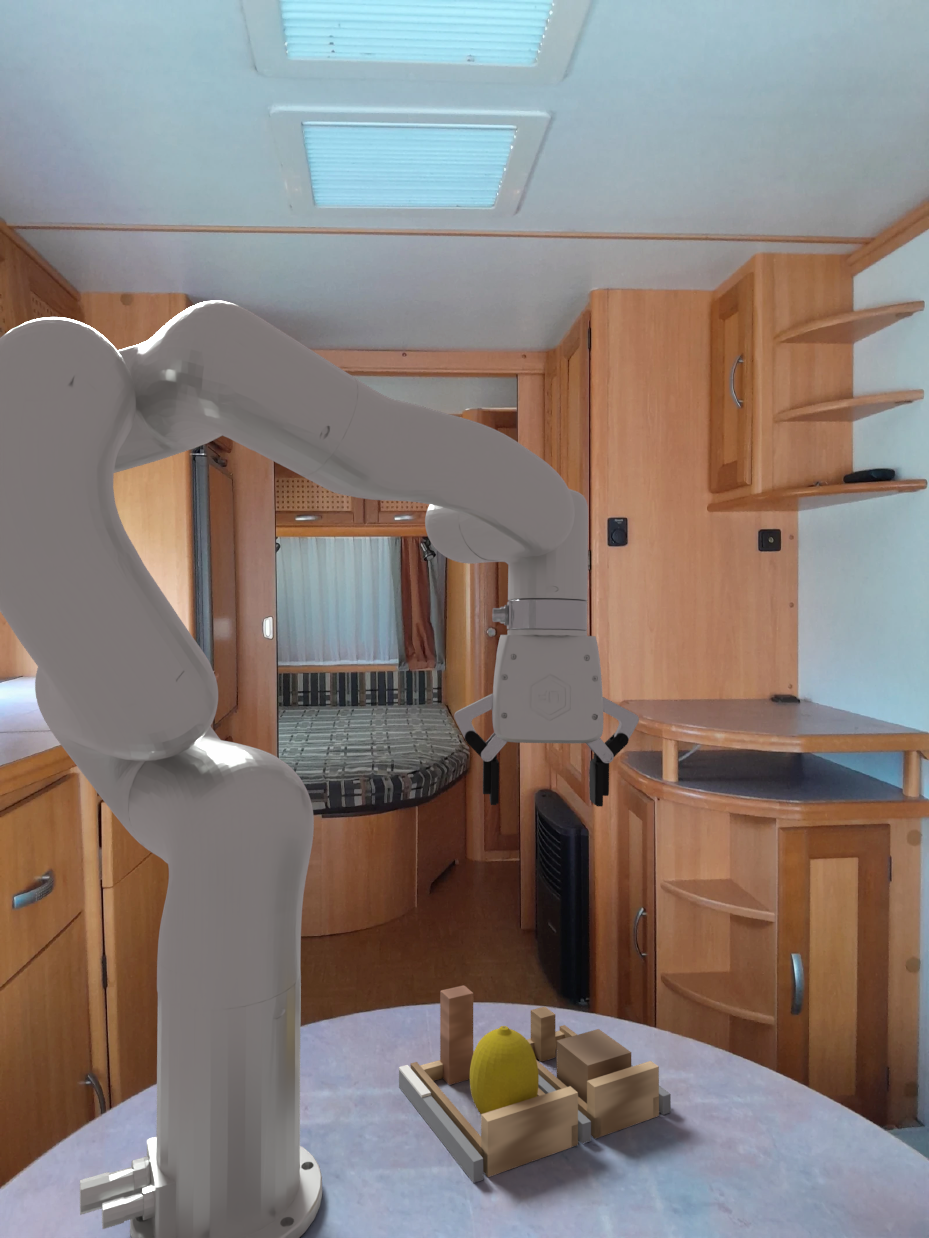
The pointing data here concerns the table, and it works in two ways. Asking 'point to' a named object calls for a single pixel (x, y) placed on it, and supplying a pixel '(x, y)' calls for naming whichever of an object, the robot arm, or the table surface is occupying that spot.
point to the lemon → (503, 1070)
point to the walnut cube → (589, 1059)
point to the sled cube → (600, 1082)
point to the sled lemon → (508, 1129)
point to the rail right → (664, 1101)
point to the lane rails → (451, 1133)
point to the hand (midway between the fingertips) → (545, 802)
